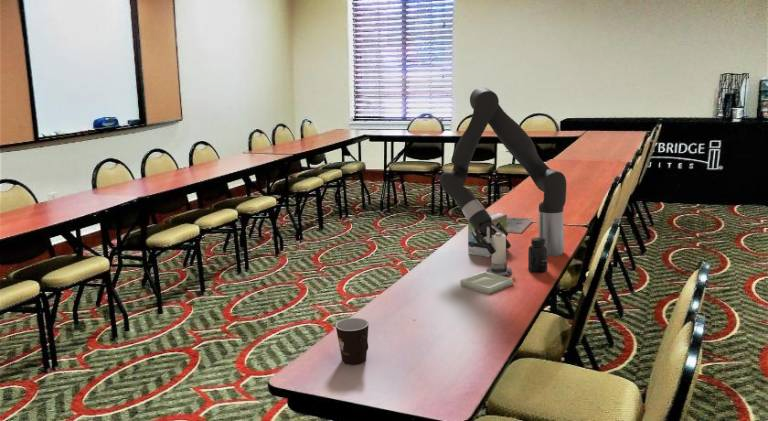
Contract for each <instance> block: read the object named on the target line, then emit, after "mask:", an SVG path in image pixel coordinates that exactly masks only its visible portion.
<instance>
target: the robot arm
mask: <svg viewBox="0 0 768 421" xmlns="http://www.w3.org/2000/svg"><path fill="white" fill-rule="evenodd" d="M469 95H470V96H469V104H470V107H471V108H472V109H473V112H472V116H471V118H470V120H469V123H468V126H467V127H466V129H465V130H464V132H463V133H462V135H461V136H460V138H459V139H458V142H457V144H456V146H455V149H454V150H453V153H452V156H451V160H450V161H451V163H452V164H453V167H452V170H447V171H444V172H442V173H441V174H440V177H439V184H440V185H441V188H442V189H443V191H444V192H445V193H446V194H447V195H448V196H449V197H450V198H451V199H453V200H454V201H455V202H456V204H457V206H458V207H459V209H460V210H461V211H462V213H463V215H464V217H465V219H466V220H467V221H469V223H470V224H471V226H472V227H473V228H474V231H473V232H472V235H473V237H474V238H475V240H476V241H477V243H478V244H479V246H484V247H486V248H487V250H488V251H489V253H491V254H494V253H495V252H496V250H495V249H494V247H493V246H492V244H491V243H489V238H492V235H493V234H495V233H496V232H497V233H502V231H503V233H504V235H506V236H507V237H508V235H509V232H506V230H505V229H504V228H503V226H502V225H501V224H500V223H499V222H498V223H497V224H495V225H494V224H493V223H492V218H491V217H490V215H489V214H488V212H489V211H487V210H486V207H485V206H484V205H483V204H482V203H481V202H480V201H479V200H478V198H477V197H476V195H475V194H474V192H473V191H472V190H471V189H470V188H467V187H465V184H466V182H467V179H468V173H469V167H470V163H471V161H472V159H473V157H474V154H475V151H476V149H477V146H478V145H479V142H480V139H481V138H482V136H483V133H484V132H485V129H487V126H490V127H491V129H492V130H493V132H494V133H495V135H496V137H497V138H498V139H499V141H500V142H501V144H503V146H504V147H505V149H506V150H507V151H508V153H509V154H511V156H513V158H514V159H515V160H516V161H517V162H518V163H519V165H520V166H521V167H522V168H523V169H524V170H525V171H526V173H527V174H528V175H529V177H530V178H531V180H532V182H533V183H534V184H535V186H536V187H537V189H538V190H539V191H541V192H543V200H542V201H541V202H540V203H539V204H538V237H539V238H544V239H545V246H546V247H547V249H548V257H559V256H562V255H563V253H564V249H565V248H564V247H565V246H564V245H565V229H564V207H565V204H566V199H567V179H566V178H567V177H566V176H565V175H564V173H562V172H561V171H558V170H554V169H552V168H551V167H550V166H548V165H547V164H546V162H544V161H543V160H542V158H541V157H540V156H539V154H538V150H537V147H536V145H535V144H534V141H533V140H532V138H531V137H530V136H529V135H528V133H527V132H526V131H525V130H524V129H523V128H522V127H521V126H520V124H519V123H517V121H515V120H514V119H513V118H512V117H511V116H509V115H508V114H507V113H506V112H505V110H504V109H503V108H502V107H501V105H500V101H499V97H498V95H497V93H495V91H493V90H491V89H489V88H487V87H478V88H476V89H473V91H472V92H471V94H469ZM503 233H502V234H503ZM479 239H480V240H481V242H480V240H479ZM511 247H512V246H511V243H510V241H509V240H508V238H506V250H509V249H510V248H511Z"/></svg>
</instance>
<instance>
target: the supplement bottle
mask: <svg viewBox="0 0 768 421" xmlns="http://www.w3.org/2000/svg"><path fill="white" fill-rule="evenodd" d="M530 239H531V240H530V244H531V245H530V246H529V247H528V253H527V255H528V258H527V259H528V260H527V262H528V264H527V265H528V266H527V269H528V272H530V273H533V274H544V273H546V272H548V258H549V256H548V249H547V247H546V246H545V239H544V238H539V236H538V237H537V236H536V237H532V238H530Z"/></svg>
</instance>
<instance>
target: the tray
mask: <svg viewBox="0 0 768 421" xmlns="http://www.w3.org/2000/svg"><path fill="white" fill-rule="evenodd" d="M513 282H514V280H513V278H511V277H508V276H505V277H504V276H500V275H496V274H492V273H489V272H486V271H482V272H478V273H476V274H473V275H470V276H468V277H465V278H462V279H460V282H459V284H460V286H461V287H464V288H467V289H471V290H475V291H478V292H481V293H484V294H488V295H490V294H493V293H494V292H497V291H499V290H502V289H505V288H507V287H509V286H512V285H513V284H514V283H513Z"/></svg>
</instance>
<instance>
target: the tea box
mask: <svg viewBox="0 0 768 421" xmlns="http://www.w3.org/2000/svg"><path fill="white" fill-rule="evenodd" d="M487 212H488V214H489V215H490V217H491V218H492V223H493V224H494V225H495V224H497V223H498V222H499V223H500V224H501V225H502V226H503V228H504V229H505V230H506V232H507V217H508V216H507V215H508V214H507V213H498V212H493V211H492V212H489V211H487ZM467 221H468V220H467ZM467 225H468V226H467V229H468V230H467V253H468V254H469V255H473V256H479V257H487V258H489V257H492V254H491V253H489V251H488V250H487V248H486V247H484V246H479V244H478V243H477V241H476V240H475V238H474V237H473V235H472V232H473V231H474V228H473V227H472V226H471V224H470V223H469V221H468V222H467ZM496 233H497V232H496ZM502 233H503V231H502ZM507 233H508V232H507ZM503 234H504V233H503ZM507 237H508V235H507V236H506V239H508V238H507ZM479 240H480V239H479ZM480 242H481V240H480ZM489 243H491V244H492V238H489Z"/></svg>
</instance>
